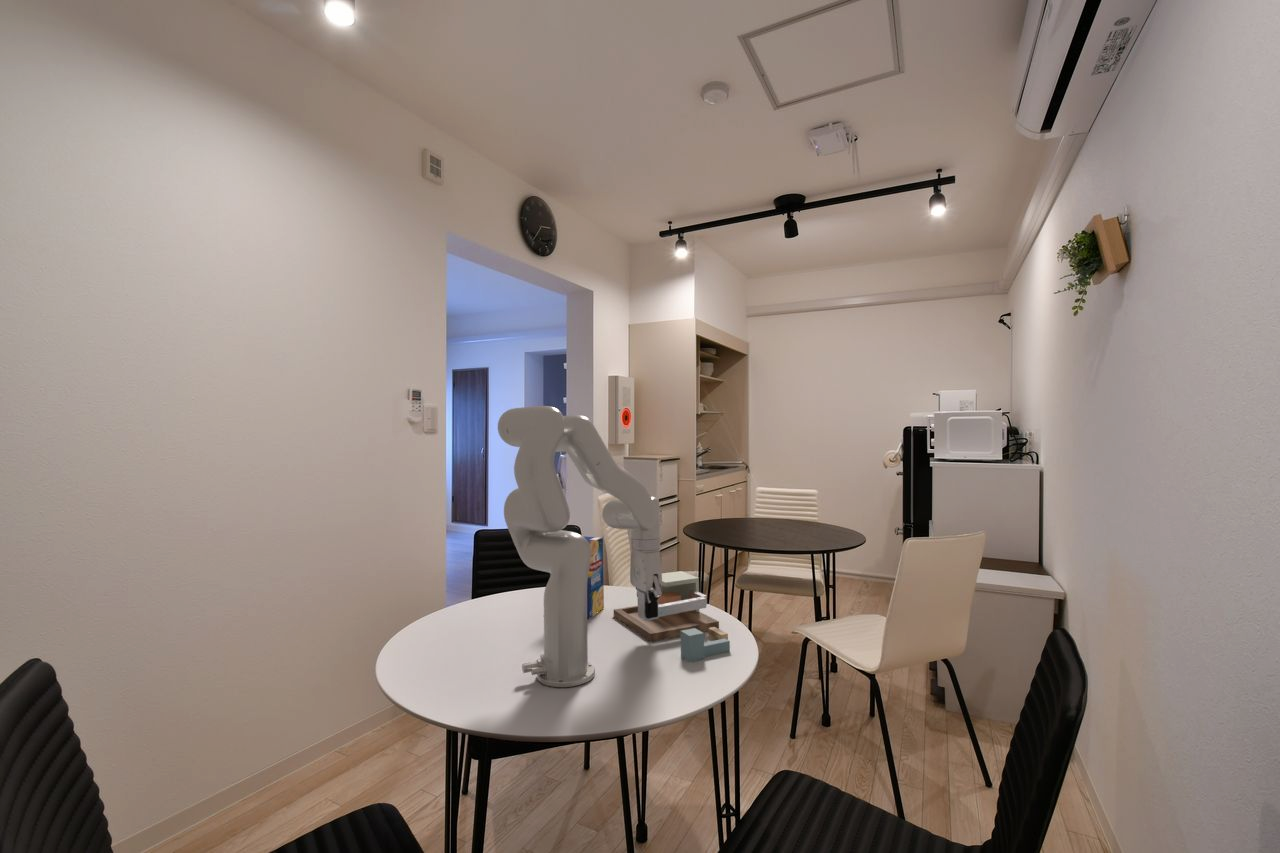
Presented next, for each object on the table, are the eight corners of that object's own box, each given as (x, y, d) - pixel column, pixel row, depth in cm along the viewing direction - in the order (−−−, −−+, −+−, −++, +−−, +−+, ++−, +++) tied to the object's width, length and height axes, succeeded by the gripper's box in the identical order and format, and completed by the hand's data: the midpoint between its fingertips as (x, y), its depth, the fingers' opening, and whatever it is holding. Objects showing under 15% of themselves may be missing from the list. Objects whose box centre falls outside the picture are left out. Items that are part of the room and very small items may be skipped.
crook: (644, 621, 142) (644, 593, 142) (628, 610, 151) (627, 584, 151) (713, 607, 151) (712, 581, 151) (693, 598, 160) (692, 574, 160)
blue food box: (604, 608, 172) (603, 537, 173) (588, 619, 162) (587, 543, 163) (584, 606, 175) (583, 536, 175) (567, 617, 164) (566, 542, 165)
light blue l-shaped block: (689, 661, 130) (689, 635, 130) (680, 656, 133) (680, 630, 133) (732, 652, 135) (731, 627, 135) (722, 647, 138) (722, 623, 139)
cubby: (666, 617, 156) (665, 582, 157) (649, 608, 165) (649, 575, 166) (699, 611, 161) (698, 577, 162) (681, 603, 170) (681, 571, 171)
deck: (650, 641, 143) (650, 633, 143) (613, 616, 165) (613, 609, 165) (719, 628, 152) (718, 621, 152) (675, 606, 174) (675, 599, 174)
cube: (665, 615, 158) (665, 597, 158) (657, 610, 163) (657, 593, 163) (681, 612, 160) (680, 595, 160) (672, 608, 165) (672, 591, 165)
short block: (728, 643, 142) (727, 633, 142) (721, 644, 141) (721, 634, 141) (714, 636, 147) (714, 626, 147) (708, 637, 146) (708, 628, 146)
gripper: (619, 540, 151) (621, 608, 151) (647, 551, 136) (649, 627, 136) (644, 537, 154) (646, 604, 154) (674, 548, 139) (676, 621, 139)
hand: (647, 614), depth 145 cm, fingers closed on crook, 4 cm apart
